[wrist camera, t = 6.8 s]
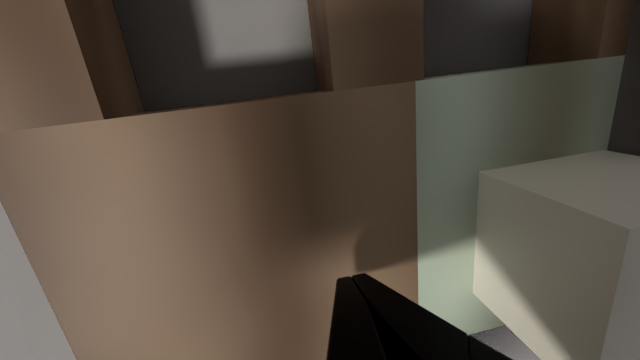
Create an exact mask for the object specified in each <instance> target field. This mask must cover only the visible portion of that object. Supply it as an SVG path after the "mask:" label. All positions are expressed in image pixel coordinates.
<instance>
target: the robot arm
mask: <svg viewBox="0 0 640 360" xmlns="http://www.w3.org/2000/svg"><path fill="white" fill-rule="evenodd" d="M326 360H513V359H511V358H509V357H507V356H506V355H504V354H502V353H500V352H498V351H497V350H495V349H493V348H491V347H490V346H488V345H486V344H484V343H483V342H481V341H479V340H478V339H476V338H474V337H473V336H471V335H469V336H468V335H467V333H466V332H464V331H462V330H460V329H459V328H457V327H455V326H454V325H452V324H450V323H449V322H447V321H445V320H444V319H442V318H440V317H439V316H437V315H435V314H433V313H432V312H430V311H428V310H427V309H425V308H423V307H422V306H420V305H418V304H417V303H415V302H413V301H412V300H410V299H408V298H407V297H405V296H403V295H401V294H400V293H398V292H396V291H395V290H393V289H391V288H390V287H388V286H386V285H385V284H383V283H381V282H380V281H378V280H376V279H374V278H373V277H371V276H369V275H368V274H366V273H361V274H356V275H352V277H350V276H346V277H341V278H338V279H337V281H336V288H335V296H334V303H333V311H332V319H331V326H330V334H329V341H328V349H327V356H326Z"/></svg>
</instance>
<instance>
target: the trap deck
mask: <svg viewBox="0 0 640 360" xmlns="http://www.w3.org/2000/svg"><path fill="white" fill-rule="evenodd" d="M307 2H308V11H309V20H310V29H311V38H312V47H313V56H314V65H315V74H316V83H317V91H312V92H304V93H296V94H288V95H279V96H271V97H263V98H255V99H247V100H239V101H230V102H222V103H214V104H206V105H198V106H190V107H182V108H173V109H165V110H157V111H149V112H144V108H143V105H142V101H141V98H140V94H139V91H138V88H137V84H136V81H135V77H134V74H133V70H132V67H131V63H130V60H129V57H128V53H127V50H126V46H125V43H124V39H123V36H122V32H121V29H120V26H119V22H118V19H117V15H116V12H115V8H114V5H113V1H112V0H0V201H1V203H2V205H3V207H4V210H5V212H6V214H7V216H8V218H9V220H10V222H11V224H12V226H13V228H14V230H15V232H16V235H17V237H18V239H19V241H20V243H21V245H22V247H23V249H24V251H25V253H26V255H27V257H28V259H29V262H30V264H31V266H32V268H33V270H34V272H35V274H36V276H37V278H38V280H39V282H40V284H41V287H42V289H43V291H44V293H45V295H46V297H47V299H48V301H49V303H50V305H51V307H52V309H53V312H54V314H55V316H56V318H57V320H58V322H59V324H60V326H61V328H62V330H63V332H64V334H65V336H66V339H67V341H68V343H69V345H70V347H71V349H72V351H73V353H74V355H75V357H76V359H77V360H326V356H327V349H328V341H329V334H330V326H331V319H332V311H333V303H334V296H335V288H336V281H337V279H338V278H341V277H346V276H350V277H352V275H356V274H361V273H366V274H368V275H369V276H371V277H373V278H374V279H376V280H378V281H380V282H381V283H383V284H385V285H386V286H388V287H390V288H391V289H393V290H395V291H396V292H398V293H400V294H401V295H403V296H405V297H407V298H408V299H410V300H412V301H413V302H415V303H417V304H418V305H420V306H422V307H423V308H425V309H427V310H428V311H430V312H432V313H433V314H435V315H437V316H439V317H440V318H442V319H444V320H445V321H447V322H449V323H450V324H452V325H454V326H455V327H457V328H459V329H460V330H462V331H464V332H466V333H467V335H470V334H474V333H478V332H482V331H486V330H489V329H493V328H497V327H501V326H505V324H504V323H503V322H502V321H501V320H500V319H499V318H498V317H497V316H496V315H495V314H494V313H493V312H492V311H491V310H490V309H489V308H488V307H487V306H486V305H485V304H484V303H483V302H481V301H480V300H479V299H478V298H477V297H476V296H475V295H474V294H473V278H474V259H475V240H476V221H477V202H478V183H479V172H480V171H486V170H492V169H497V168H503V167H509V166H514V165H520V164H526V163H531V162H537V161H543V160H548V159H554V158H560V157H566V156H571V155H577V154H583V153H588V152H594V151H600V150H607V151H613V152H618V153H624V154H630V155H635V156H640V0H533V9H532V20H531V30H530V41H529V51H528V61H527V65H524V66H516V67H508V68H499V69H491V70H483V71H475V72H467V73H459V74H451V75H442V76H434V77H426V78H424V0H307Z"/></svg>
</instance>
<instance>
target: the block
mask: <svg viewBox="0 0 640 360" xmlns="http://www.w3.org/2000/svg"><path fill="white" fill-rule="evenodd" d="M473 294H474V295H475V296H476V297H477V298H478V299H479V300H480V301H481V302H483V303H484V304H485V305H486V306H487V307H488V308H489V309H490V310H491V311H492V312H493V313H494V314H495V315H496V316H497V317H498V318H499V319H500V320H501V321H502V322H503V323H504V324H505V325H506V326H507V327H508V328H509V329H510V330H511V331H512V332H513V333H514V334H515V335H516V336H517V337H519V338H520V339H521V340H522V341H523V342H524V343H525V344H526V345H527V346H528V347H529V348H530V349H531V350H532V351H533V352H534V353H535V354H536V355H537V356H538V357H539V358H540V359H541V360H640V156H635V155H630V154H624V153H618V152H613V151H607V150H600V151H594V152H588V153H583V154H577V155H571V156H566V157H560V158H554V159H548V160H543V161H537V162H531V163H526V164H520V165H514V166H509V167H503V168H497V169H492V170H486V171H480V172H479V183H478V202H477V221H476V240H475V259H474V278H473Z"/></svg>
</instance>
